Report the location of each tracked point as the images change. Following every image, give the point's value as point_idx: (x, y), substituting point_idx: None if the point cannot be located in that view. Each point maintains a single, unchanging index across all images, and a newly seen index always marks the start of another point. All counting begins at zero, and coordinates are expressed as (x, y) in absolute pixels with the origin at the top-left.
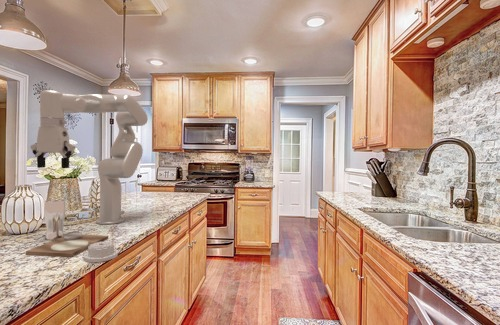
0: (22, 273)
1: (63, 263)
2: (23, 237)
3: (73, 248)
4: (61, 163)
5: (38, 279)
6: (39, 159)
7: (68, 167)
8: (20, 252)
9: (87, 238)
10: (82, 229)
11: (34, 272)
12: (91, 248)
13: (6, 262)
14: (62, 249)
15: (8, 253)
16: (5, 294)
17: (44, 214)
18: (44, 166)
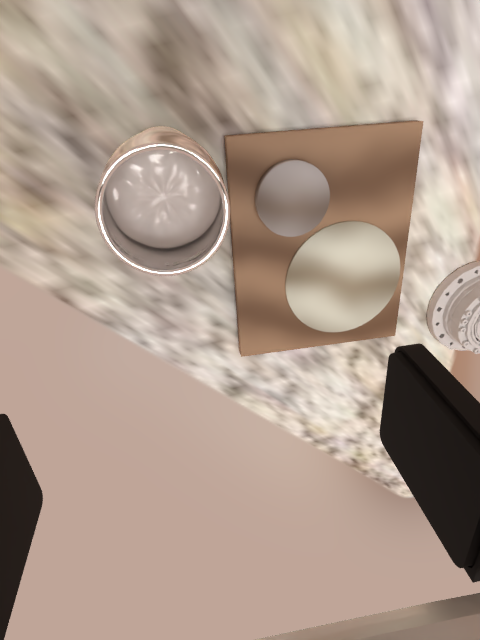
0: (340, 428)
1: None
2: (10, 197)
3: (378, 307)
4: (411, 490)
5: None
6: (2, 626)
7: (417, 352)
8: (201, 339)
9: (352, 185)
10: None
11: (362, 418)
12: (478, 352)
13: (241, 400)
14: (349, 323)
15: (173, 355)
16: (381, 483)
17: (140, 243)
18: (9, 432)
